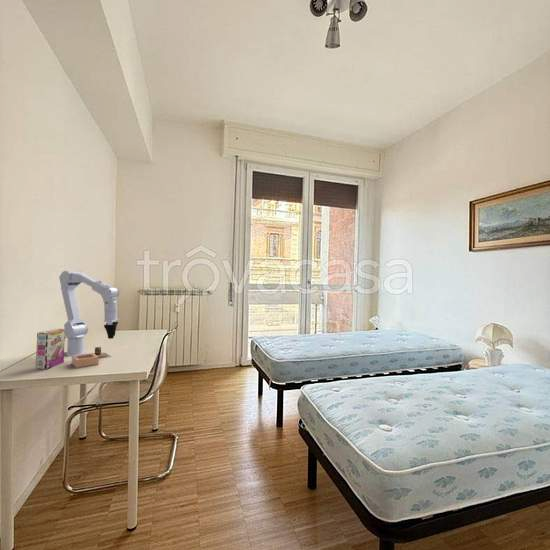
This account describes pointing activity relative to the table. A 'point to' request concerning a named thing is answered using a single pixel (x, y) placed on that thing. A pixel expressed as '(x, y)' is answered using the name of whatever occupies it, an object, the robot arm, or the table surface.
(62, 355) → the candy bar box
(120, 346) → the table surface
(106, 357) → the mat
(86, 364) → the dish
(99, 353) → the lid
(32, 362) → the table surface
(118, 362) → the table surface
